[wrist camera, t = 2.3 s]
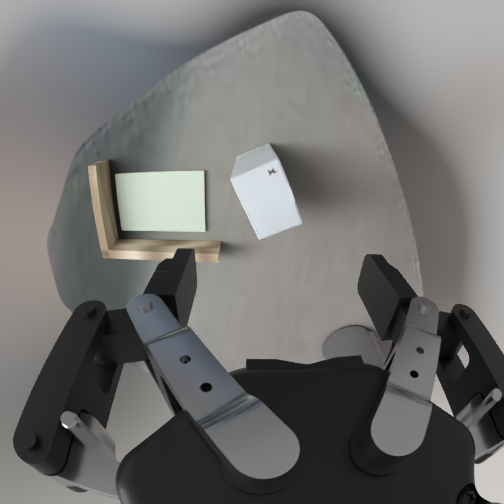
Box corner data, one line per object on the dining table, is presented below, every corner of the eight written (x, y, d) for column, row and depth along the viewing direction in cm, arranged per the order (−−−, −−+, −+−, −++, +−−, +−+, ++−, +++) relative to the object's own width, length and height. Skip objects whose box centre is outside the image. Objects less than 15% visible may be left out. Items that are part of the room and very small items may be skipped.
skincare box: (235, 155, 31) (227, 177, 21) (269, 142, 30) (279, 155, 20) (255, 200, 34) (258, 242, 23) (287, 187, 33) (306, 224, 22)
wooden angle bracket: (221, 154, 31) (217, 158, 28) (221, 249, 37) (218, 262, 34) (101, 160, 31) (87, 165, 28) (113, 246, 37) (103, 257, 33)
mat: (204, 170, 32) (203, 171, 32) (205, 230, 36) (205, 231, 35) (116, 173, 32) (114, 174, 31) (123, 229, 35) (121, 230, 35)
